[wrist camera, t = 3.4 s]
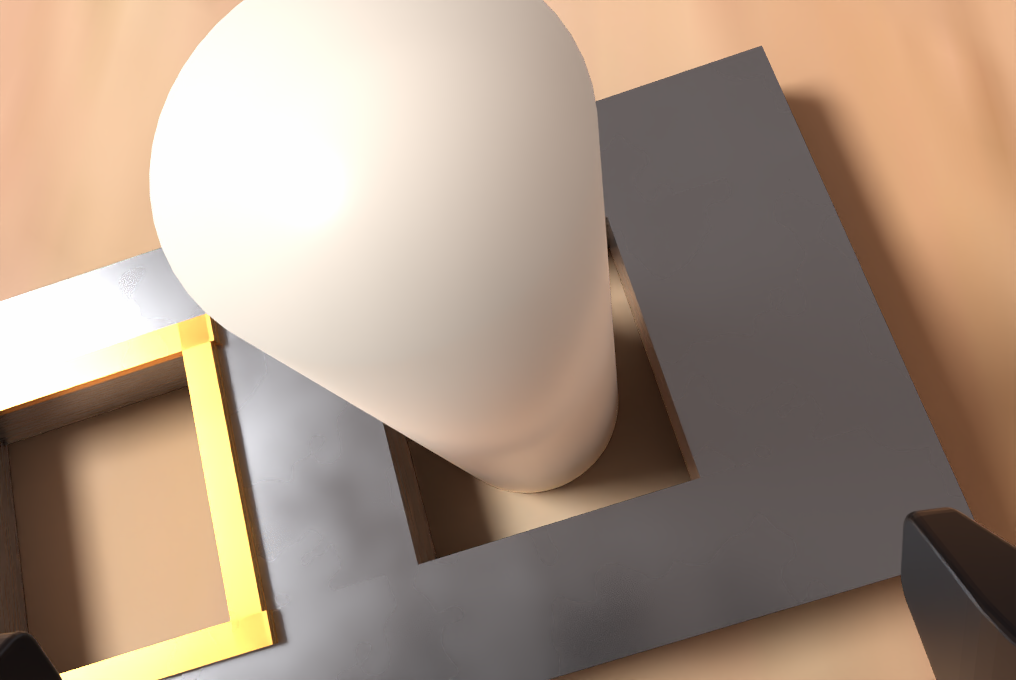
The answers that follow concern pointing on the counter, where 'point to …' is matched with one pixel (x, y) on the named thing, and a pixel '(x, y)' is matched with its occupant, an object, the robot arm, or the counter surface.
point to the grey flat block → (564, 544)
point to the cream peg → (404, 219)
